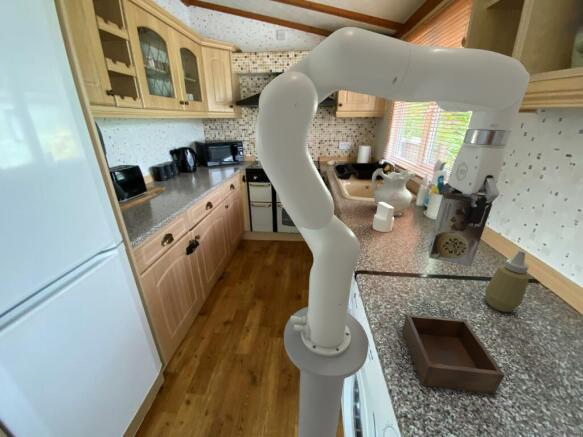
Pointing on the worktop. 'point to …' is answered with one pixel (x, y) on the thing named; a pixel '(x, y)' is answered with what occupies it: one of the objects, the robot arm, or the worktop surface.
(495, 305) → the squeeze bottle
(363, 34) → the robot arm
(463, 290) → the worktop surface
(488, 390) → the tray
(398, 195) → the ceramic pitcher
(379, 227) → the base with upright slab
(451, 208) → the coffee box
